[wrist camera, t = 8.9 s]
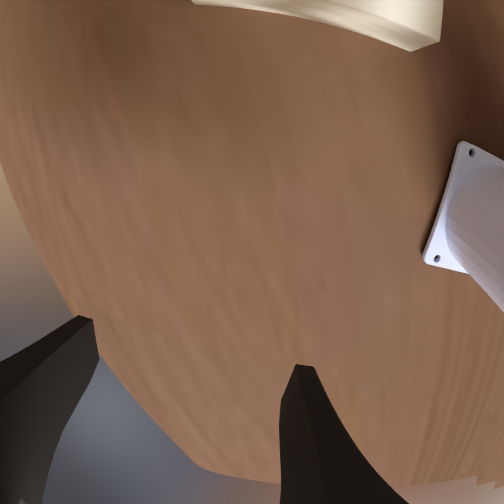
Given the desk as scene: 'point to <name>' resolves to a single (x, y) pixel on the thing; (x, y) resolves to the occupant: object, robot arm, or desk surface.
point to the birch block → (361, 17)
